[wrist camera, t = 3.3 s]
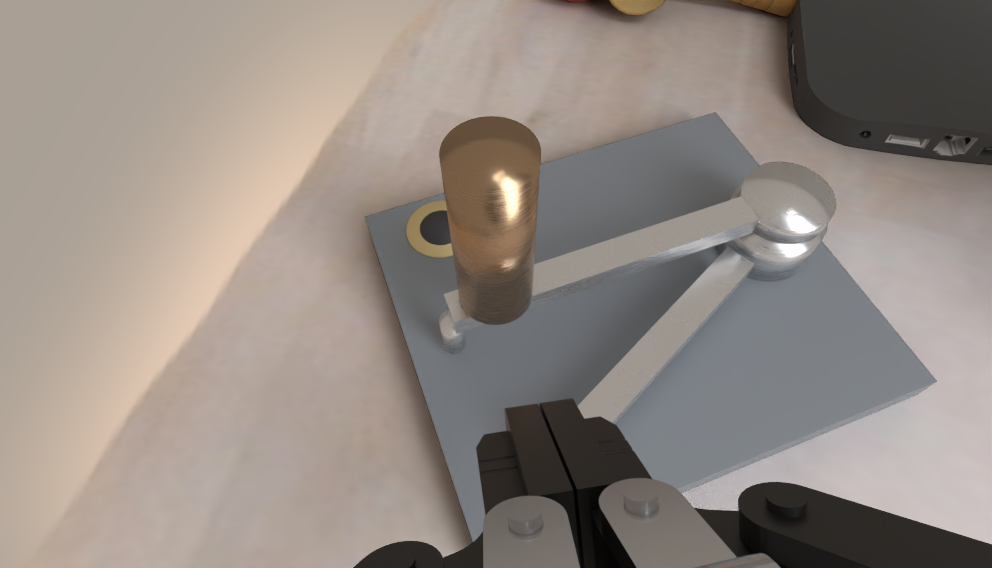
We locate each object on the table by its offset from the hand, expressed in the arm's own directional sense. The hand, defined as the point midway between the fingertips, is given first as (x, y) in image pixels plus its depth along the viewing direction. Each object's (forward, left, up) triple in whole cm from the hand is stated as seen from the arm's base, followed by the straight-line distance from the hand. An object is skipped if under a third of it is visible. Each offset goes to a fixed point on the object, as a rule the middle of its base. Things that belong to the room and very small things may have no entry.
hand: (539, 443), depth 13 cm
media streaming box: (-37, -8, -14) cm, 40 cm away
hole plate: (-11, -6, -13) cm, 18 cm away
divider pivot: (-11, -3, -12) cm, 16 cm away
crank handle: (-11, -6, -11) cm, 17 cm away
